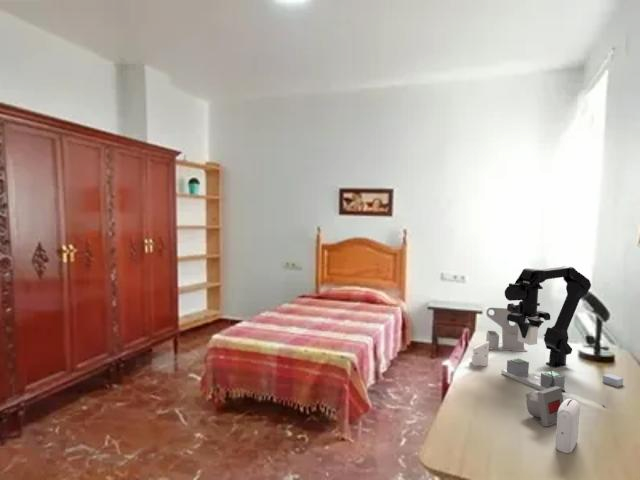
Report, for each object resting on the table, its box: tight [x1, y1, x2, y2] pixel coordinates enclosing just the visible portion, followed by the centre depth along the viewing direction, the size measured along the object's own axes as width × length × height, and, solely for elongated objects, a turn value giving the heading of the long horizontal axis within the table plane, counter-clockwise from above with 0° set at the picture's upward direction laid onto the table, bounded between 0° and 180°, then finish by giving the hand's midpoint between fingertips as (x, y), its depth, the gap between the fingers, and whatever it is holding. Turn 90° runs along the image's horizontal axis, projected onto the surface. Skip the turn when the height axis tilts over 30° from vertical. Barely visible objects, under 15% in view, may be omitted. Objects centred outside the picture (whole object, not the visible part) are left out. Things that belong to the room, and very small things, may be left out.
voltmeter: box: [525, 370, 564, 427], centre depth 144 cm, size 27×11×10 cm, turn 157°
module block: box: [518, 325, 539, 346], centre depth 182 cm, size 4×6×7 cm, turn 25°
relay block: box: [602, 373, 624, 388], centre depth 166 cm, size 5×4×4 cm
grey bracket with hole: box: [485, 307, 528, 353], centre depth 212 cm, size 17×10×18 cm, turn 80°
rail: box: [501, 358, 566, 393], centre depth 168 cm, size 7×22×6 cm, turn 26°
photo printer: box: [554, 398, 580, 454], centre depth 122 cm, size 10×4×12 cm, turn 140°
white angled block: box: [471, 341, 490, 367], centre depth 187 cm, size 4×10×9 cm, turn 84°
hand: (527, 337), depth 183 cm, fingers closed on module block, 4 cm apart
